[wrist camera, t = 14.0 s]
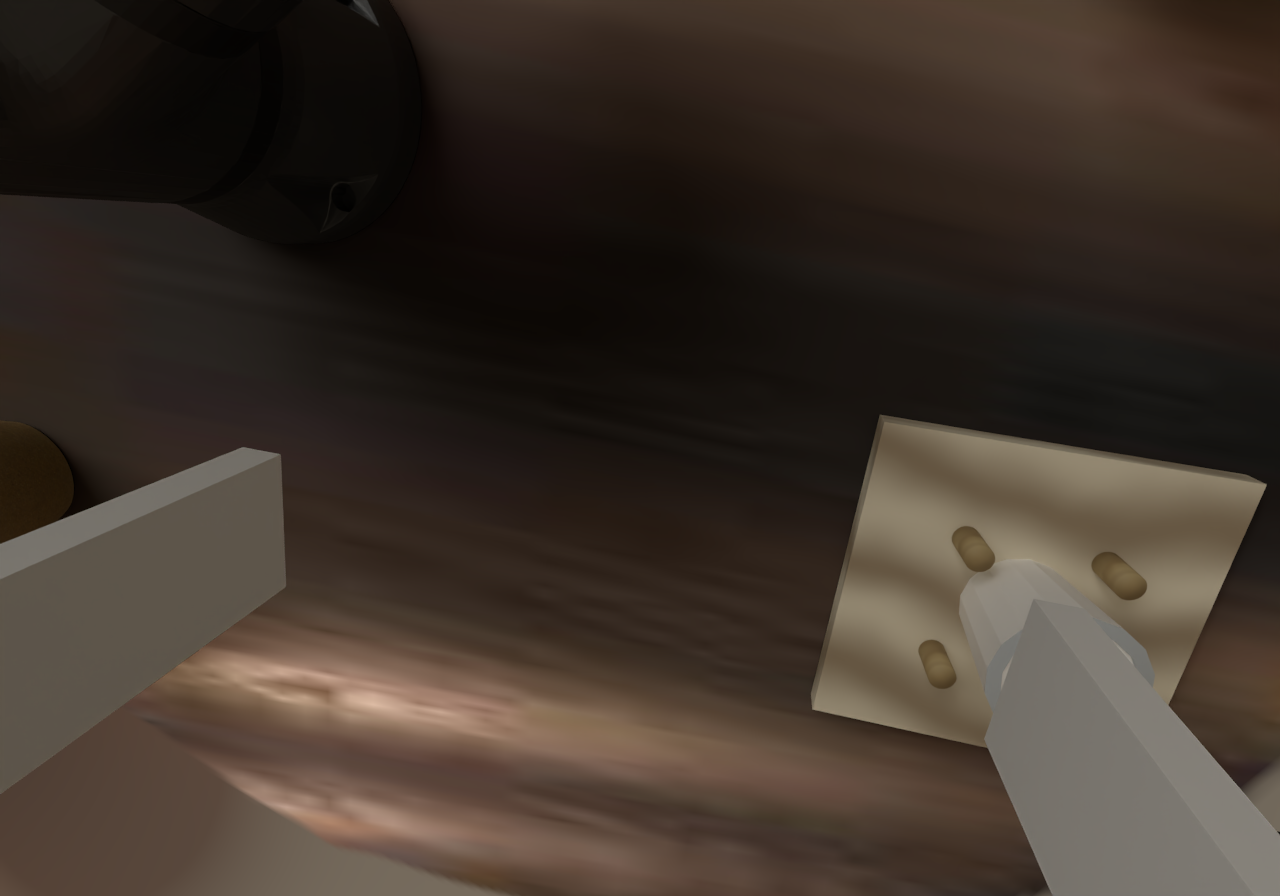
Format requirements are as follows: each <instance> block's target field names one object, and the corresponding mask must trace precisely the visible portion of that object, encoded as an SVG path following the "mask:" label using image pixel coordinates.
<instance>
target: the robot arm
mask: <svg viewBox="0 0 1280 896" xmlns="http://www.w3.org/2000/svg"><path fill="white" fill-rule="evenodd" d="M420 127H421V90H420V83H419V76H418V71H417V66H416V62H415V58H414V55H413V51H412V48H411V45H410V42H409V40H408V37H407V35H406V32H405V30H404V28H403V26H402V24H401V22H400V19H399V18H398V16H397V14H396V12H395V10H394V9H393V7H392V6H391V4H390V2H389V1H388V0H0V194H2V195H20V196H38V197H56V198H75V199H93V200H111V201H129V202H148V203H172V204H178V205H180V206H182V207H184V208H186V209H188V210H190V211H193V212H195V213H197V214H199V215H201V216H203V217H205V218H207V219H210V220H212V221H214V222H216V223H218V224H220V225H222V226H225V227H227V228H229V229H231V230H233V231H235V232H238V233H240V234H242V235H245V236H248V237H251V238H254V239H258V240H262V241H267V242H272V243H280V244H319V243H327V242H332V241H336V240H340V239H343V238H346V237H348V236H351V235H353V234H355V233H357V232H359V231H360V230H362V229H364V228H365V227H367V226H368V225H370V224H371V223H372V222H374V221H375V220H376V219H377V218H378V217H379V216H380V215H381V214H382V213H383V212H384V211H385V210H386V209H387V208H388V207H389V206H390V205H391V203H392V202H393V201H394V199H395V198H396V197H397V195H398V193H399V192H400V190H401V188H402V187H403V185H404V183H405V181H406V179H407V177H408V174H409V172H410V170H411V167H412V164H413V161H414V158H415V154H416V151H417V146H418V141H419V135H420ZM285 587H286V573H285V548H284V523H283V498H282V473H281V454H276V453H271V452H265V451H260V450H255V449H250V448H244V447H242V448H240V449H237V450H235V451H232V452H230V453H227V454H225V455H222V456H220V457H217V458H215V459H212V460H210V461H207V462H205V463H202V464H200V465H197V466H195V467H192V468H190V469H187V470H185V471H182V472H180V473H177V474H175V475H172V476H170V477H167V478H165V479H162V480H160V481H157V482H155V483H152V484H149V485H147V486H144V487H142V488H139V489H137V490H134V491H132V492H129V493H127V494H124V495H122V496H119V497H117V498H114V499H112V500H109V501H107V502H104V503H102V504H99V505H97V506H94V507H92V508H89V509H87V510H84V511H82V512H79V513H77V514H74V515H72V516H69V517H67V518H64V519H62V520H59V521H57V522H54V523H52V524H49V525H47V526H44V527H42V528H39V529H37V530H34V531H32V532H29V533H27V534H24V535H22V536H19V537H17V538H14V539H12V540H9V541H7V542H4V543H2V544H0V794H1V793H3V792H4V791H5V790H7V789H8V788H9V787H11V786H12V785H14V784H15V783H16V782H18V781H19V780H20V779H22V778H23V777H24V776H26V775H27V774H29V773H30V772H31V771H33V770H34V769H35V768H37V767H38V766H40V765H41V764H42V763H44V762H45V761H47V760H48V759H49V758H51V757H52V756H54V755H55V754H56V753H58V752H59V751H60V750H62V749H63V748H65V747H66V746H67V745H69V744H70V743H71V742H73V741H74V740H75V739H77V738H78V737H80V736H81V735H82V734H84V733H85V732H87V731H88V730H89V729H90V728H92V727H93V726H95V725H96V724H98V723H99V722H100V721H102V720H103V719H104V718H106V717H107V716H109V715H110V714H111V713H113V712H114V711H116V710H117V709H118V708H120V707H121V706H122V705H124V704H125V703H127V702H128V701H129V700H131V699H132V698H133V697H135V696H136V695H138V694H139V693H140V692H142V691H143V690H144V689H146V688H147V687H149V686H150V685H151V684H153V683H154V682H155V681H157V680H158V679H160V678H161V677H162V676H164V675H165V674H167V673H168V672H169V671H171V670H172V669H173V668H175V667H176V666H178V665H179V664H180V663H182V662H183V661H184V660H186V659H187V658H189V657H190V656H191V655H193V654H194V653H195V652H197V651H198V650H200V649H201V648H202V647H204V646H205V645H206V644H208V643H209V642H211V641H212V640H213V639H215V638H216V637H217V636H219V635H220V634H222V633H223V632H224V631H226V630H227V629H229V628H230V627H231V626H233V625H234V624H235V623H237V622H238V621H240V620H241V619H242V618H244V617H245V616H246V615H248V614H249V613H251V612H252V611H253V610H255V609H256V608H257V607H259V606H260V605H262V604H263V603H264V602H266V601H267V600H268V599H270V598H271V597H273V596H274V595H275V594H277V593H278V592H280V591H281V590H282V589H284V588H285ZM984 740H985V742H986V745H987V747H988V749H989V752H990V754H991V756H992V758H993V761H994V763H995V765H996V768H997V770H998V772H999V774H1000V777H1001V779H1002V781H1003V784H1004V786H1005V788H1006V790H1007V793H1008V795H1009V797H1010V800H1011V802H1012V804H1013V806H1014V809H1015V811H1016V813H1017V816H1018V818H1019V820H1020V823H1021V825H1022V827H1023V829H1024V832H1025V834H1026V836H1027V839H1028V841H1029V843H1030V845H1031V848H1032V850H1033V852H1034V855H1035V857H1036V859H1037V861H1038V864H1039V866H1040V868H1041V871H1042V873H1043V875H1044V877H1045V880H1046V882H1047V884H1048V887H1049V889H1050V891H1051V893H1052V896H1280V832H1278V831H1276V830H1275V829H1274V828H1273V826H1272V825H1271V824H1270V823H1269V822H1268V821H1267V819H1266V818H1265V817H1264V816H1263V815H1262V814H1261V812H1260V811H1259V810H1258V809H1257V808H1256V807H1255V805H1254V804H1253V803H1252V802H1251V801H1250V800H1249V799H1248V797H1247V796H1246V795H1245V794H1244V793H1243V792H1242V790H1241V789H1240V788H1239V787H1238V786H1237V785H1236V783H1235V782H1234V781H1233V780H1232V779H1231V778H1230V777H1229V775H1228V774H1227V773H1226V772H1225V771H1224V770H1223V768H1222V767H1221V766H1220V765H1219V764H1218V763H1217V761H1216V760H1215V759H1214V758H1213V757H1212V756H1211V755H1210V753H1209V752H1208V751H1207V750H1206V749H1205V748H1204V746H1203V745H1202V744H1201V743H1200V742H1199V741H1198V739H1197V738H1196V737H1195V736H1194V735H1193V734H1192V732H1191V731H1190V730H1189V729H1188V728H1187V727H1186V726H1185V724H1184V723H1183V722H1182V721H1181V720H1180V719H1179V717H1178V716H1177V715H1176V714H1175V713H1174V712H1173V710H1172V709H1171V708H1170V707H1169V706H1168V705H1167V704H1166V702H1165V701H1164V700H1163V699H1162V698H1161V697H1160V695H1159V694H1158V693H1157V692H1156V691H1155V690H1154V688H1153V687H1152V686H1151V685H1150V684H1149V683H1148V681H1147V680H1146V679H1145V678H1144V677H1143V676H1142V675H1141V673H1140V672H1139V671H1138V670H1137V669H1136V668H1135V666H1134V665H1133V664H1132V663H1131V662H1130V661H1129V659H1128V658H1127V657H1126V656H1125V655H1124V654H1123V653H1122V651H1121V650H1120V649H1119V648H1118V647H1117V646H1116V644H1115V643H1114V642H1113V641H1112V640H1111V639H1110V637H1109V636H1108V635H1107V634H1106V633H1105V632H1104V631H1103V629H1102V628H1101V627H1100V626H1099V625H1098V624H1097V622H1096V621H1095V620H1094V619H1093V618H1092V617H1091V615H1090V614H1089V613H1088V612H1087V611H1086V610H1085V609H1084V608H1079V607H1074V606H1069V605H1063V604H1058V603H1053V602H1048V601H1042V600H1037V599H1033V602H1032V604H1031V607H1030V610H1029V613H1028V616H1027V619H1026V621H1025V624H1024V627H1023V630H1022V633H1021V636H1020V639H1019V641H1018V644H1017V647H1016V650H1015V653H1014V656H1013V658H1012V661H1011V664H1010V667H1009V670H1008V673H1007V676H1006V678H1005V681H1004V684H1003V687H1002V690H1001V693H1000V695H999V698H998V701H997V704H996V707H995V710H994V713H993V715H992V718H991V721H990V724H989V727H988V730H987V732H986V735H985V738H984Z"/></svg>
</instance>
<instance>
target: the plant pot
mask: <svg viewBox="0 0 1280 896" xmlns="http://www.w3.org/2000/svg"><path fill="white" fill-rule="evenodd" d="M73 495H74V482H73V477H72V473H71V470H70V467H69V465H68V463H67V461H66V459H65V457H64V456H63V454H62V453H61V451H60V450H59V449H58V448H57V446H56V445H55V444H54V443H53V442H52V441H51V440H50V439H49V438H48V437H46V436H45V435H44V434H43V433H41V432H40V431H38V430H36V429H35V428H33V427H31V426H29V425H26V424H23V423H19V422H11V421H0V544H2V543H4V542H7V541H9V540H12V539H14V538H17V537H19V536H22V535H24V534H27V533H29V532H32V531H34V530H37V529H39V528H42V527H44V526H47V525H49V524H52V523H54V522H56V521H57V520H58V519H59V518H60V517H61V516H62V515H63V514H64V513H65V512H66V511H67V510H68V509H69V507H70V505H71V503H72V499H73Z"/></svg>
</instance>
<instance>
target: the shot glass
mask: <svg viewBox="0 0 1280 896" xmlns="http://www.w3.org/2000/svg"><path fill="white" fill-rule="evenodd" d="M1033 599H1037V600H1042V601H1048V602H1053V603H1058V604H1063V605H1069V606H1074V607H1079V608H1084V609H1085V610H1086V611H1087V612H1088V613H1089V614H1090V615H1091V617H1092V618H1093V619H1094V620H1095V621H1096V622H1097V624H1098V625H1099V626H1100V627H1101V628H1102V629H1103V631H1104V632H1105V633H1106V634H1107V635H1108V636H1109V637H1110V639H1111V640H1112V641H1113V642H1114V643H1115V644H1116V646H1117V647H1118V648H1119V649H1120V650H1121V651H1122V653H1123V654H1124V655H1125V656H1126V657H1127V658H1128V659H1129V661H1130V662H1131V663H1132V664H1133V665H1134V666H1135V668H1136V669H1137V670H1138V671H1139V672H1140V673H1141V675H1142V676H1143V677H1144V678H1145V679H1146V680H1147V681H1148V683H1149V684H1150V685H1151V686H1152V687H1153V684H1154V678H1155V674H1154V671H1153V668H1152V665H1151V663H1150V660H1149V657H1148V654H1147V652H1146V649H1145V648H1144V647H1143V646H1142V645H1140V644H1139V643H1138V642H1137V641H1136V640H1135V639H1134V638H1133V637H1132V636H1131V635H1130V634H1129V633H1128V632H1127V631H1125V630H1124V629H1123V628H1122V627H1121V626H1120V625H1118V624H1117V623H1116V622H1115V621H1114V620H1113V619H1111V618H1110V617H1109V616H1108V615H1107V614H1106V613H1104V612H1103V611H1102V610H1101V609H1100V608H1098V607H1097V606H1096V605H1095V604H1094V603H1093V602H1091V601H1090V600H1089V599H1088V598H1087V597H1085V596H1084V595H1083V594H1082V593H1081V592H1080V591H1078V590H1077V589H1076V588H1075V587H1074V586H1072V585H1071V584H1070V583H1069V582H1068V581H1067V580H1065V579H1064V578H1063V577H1062V576H1061V575H1059V574H1058V573H1057V572H1056V571H1055V570H1054V569H1052V568H1051V567H1049V566H1047V565H1044V564H1041V563H1039V562H1036V561H1033V560H1031V559H1006V560H1003V561H1000V562H997V563H994V564H993V566H992V567H991V568H990V569H988V570H986V571H984V572H978V573H977V574H975V575H974V576H973V577H972V578H970V579H969V581H968V583H967V585H966V586H965V588H964V590H963V592H962V593H961V595H960V605H959V615H960V619H961V622H962V625H963V628H964V631H965V634H966V637H967V640H968V643H969V646H970V649H971V653H972V656H973V659H974V662H975V665H976V668H977V671H978V674H979V677H980V680H981V683H982V687H983V690H984V693H985V695H986V698H987V700H988V702H989V705H990V707H991V709H992V712H993V713H994V710H995V707H996V704H997V701H998V698H999V695H1000V693H1001V690H1002V687H1003V684H1004V681H1005V678H1006V676H1007V673H1008V670H1009V667H1010V664H1011V661H1012V658H1013V656H1014V653H1015V650H1016V647H1017V644H1018V641H1019V639H1020V636H1021V633H1022V630H1023V627H1024V624H1025V621H1026V619H1027V616H1028V613H1029V610H1030V607H1031V604H1032V602H1033Z"/></svg>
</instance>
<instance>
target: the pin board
mask: <svg viewBox="0 0 1280 896" xmlns="http://www.w3.org/2000/svg"><path fill="white" fill-rule="evenodd" d="M1266 486H1267V485H1266V484H1264V483H1262V482H1260V481H1258V480H1256V479H1254V478H1252V477H1250V476H1248V475H1245V474H1239V473H1233V472H1227V471H1221V470H1214V469H1208V468H1202V467H1196V466H1190V465H1184V464H1178V463H1172V462H1166V461H1159V460H1153V459H1147V458H1141V457H1135V456H1129V455H1123V454H1117V453H1111V452H1104V451H1098V450H1092V449H1086V448H1080V447H1074V446H1068V445H1062V444H1056V443H1050V442H1043V441H1037V440H1031V439H1025V438H1019V437H1013V436H1007V435H1001V434H995V433H988V432H982V431H976V430H970V429H964V428H958V427H952V426H946V425H940V424H933V423H927V422H921V421H915V420H909V419H903V418H897V417H891V416H885V415H880V416H879V420H878V424H877V428H876V432H875V436H874V440H873V445H872V449H871V453H870V457H869V461H868V465H867V469H866V473H865V477H864V481H863V485H862V489H861V493H860V497H859V501H858V505H857V509H856V513H855V517H854V521H853V525H852V530H851V534H850V538H849V542H848V546H847V550H846V554H845V558H844V562H843V566H842V570H841V574H840V578H839V582H838V586H837V590H836V594H835V598H834V602H833V606H832V611H831V615H830V619H829V623H828V627H827V631H826V635H825V639H824V643H823V647H822V651H821V655H820V659H819V663H818V667H817V671H816V675H815V679H814V683H813V687H812V691H811V699H812V709H813V710H817V711H822V712H827V713H831V714H836V715H840V716H845V717H849V718H854V719H858V720H863V721H867V722H872V723H877V724H881V725H886V726H890V727H895V728H899V729H904V730H908V731H913V732H918V733H922V734H927V735H931V736H936V737H940V738H945V739H949V740H954V741H958V742H963V743H968V744H972V745H977V746H981V747H986V748H988V747H987V745H986V742H985V740H984V738H985V735H986V732H987V730H988V727H989V724H990V721H991V718H992V715H993V712H992V709H991V707H990V705H989V702H988V700H987V698H986V695H985V693H984V690H983V687H982V683H981V680H980V677H979V674H978V671H977V668H976V665H975V662H974V659H973V656H972V653H971V649H970V646H969V643H968V640H967V637H966V634H965V631H964V628H963V625H962V622H961V619H960V615H959V605H960V595H961V593H962V592H963V590H964V588H965V586H966V585H967V583H968V581H969V579H970V578H972V577H973V576H974V575H975V574H977V573H978V572H984V571H986V570H988V569H990V568H991V567H992V566H993V564H994V563H997V562H1000V561H1003V560H1006V559H1031V560H1033V561H1036V562H1039V563H1041V564H1044V565H1047V566H1049V567H1051V568H1052V569H1054V570H1055V571H1056V572H1057V573H1058V574H1059V575H1061V576H1062V577H1063V578H1064V579H1065V580H1067V581H1068V582H1069V583H1070V584H1071V585H1072V586H1074V587H1075V588H1076V589H1077V590H1078V591H1080V592H1081V593H1082V594H1083V595H1084V596H1085V597H1087V598H1088V599H1089V600H1090V601H1091V602H1093V603H1094V604H1095V605H1096V606H1097V607H1098V608H1100V609H1101V610H1102V611H1103V612H1104V613H1106V614H1107V615H1108V616H1109V617H1110V618H1111V619H1113V620H1114V621H1115V622H1116V623H1117V624H1118V625H1120V626H1121V627H1122V628H1123V629H1124V630H1125V631H1127V632H1128V633H1129V634H1130V635H1131V636H1132V637H1133V638H1134V639H1135V640H1136V641H1137V642H1138V643H1139V644H1140V645H1142V646H1143V647H1144V648H1145V649H1146V652H1147V654H1148V657H1149V660H1150V663H1151V665H1152V668H1153V671H1154V674H1155V678H1154V684H1153V688H1154V690H1155V691H1156V692H1157V693H1158V694H1159V695H1160V697H1161V698H1162V699H1163V700H1164V701H1165V702H1166V704H1167V705H1169V703H1170V700H1171V698H1172V696H1173V694H1174V691H1175V689H1176V687H1177V685H1178V682H1179V680H1180V678H1181V676H1182V674H1183V671H1184V669H1185V667H1186V665H1187V662H1188V660H1189V658H1190V656H1191V653H1192V651H1193V649H1194V647H1195V644H1196V642H1197V640H1198V638H1199V636H1200V633H1201V631H1202V629H1203V627H1204V624H1205V622H1206V620H1207V618H1208V615H1209V613H1210V611H1211V609H1212V606H1213V604H1214V602H1215V600H1216V597H1217V595H1218V593H1219V591H1220V589H1221V586H1222V584H1223V582H1224V580H1225V577H1226V575H1227V573H1228V571H1229V568H1230V566H1231V564H1232V562H1233V559H1234V557H1235V555H1236V553H1237V550H1238V548H1239V546H1240V544H1241V542H1242V539H1243V537H1244V535H1245V533H1246V530H1247V528H1248V526H1249V524H1250V521H1251V519H1252V517H1253V515H1254V512H1255V510H1256V508H1257V506H1258V503H1259V501H1260V499H1261V497H1262V495H1263V492H1264V490H1265V488H1266Z"/></svg>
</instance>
